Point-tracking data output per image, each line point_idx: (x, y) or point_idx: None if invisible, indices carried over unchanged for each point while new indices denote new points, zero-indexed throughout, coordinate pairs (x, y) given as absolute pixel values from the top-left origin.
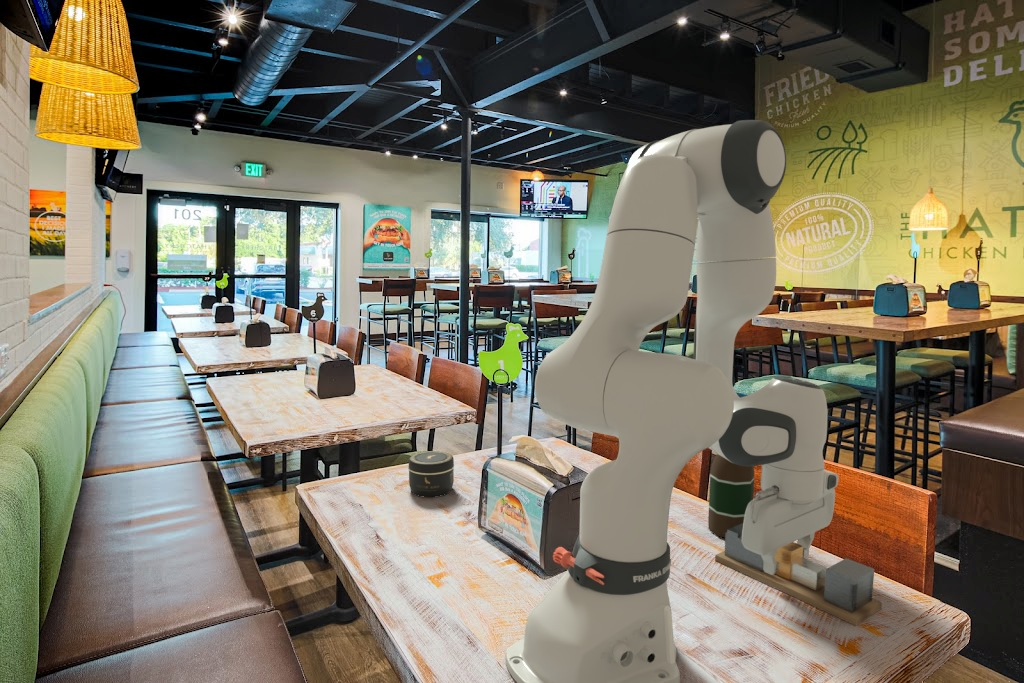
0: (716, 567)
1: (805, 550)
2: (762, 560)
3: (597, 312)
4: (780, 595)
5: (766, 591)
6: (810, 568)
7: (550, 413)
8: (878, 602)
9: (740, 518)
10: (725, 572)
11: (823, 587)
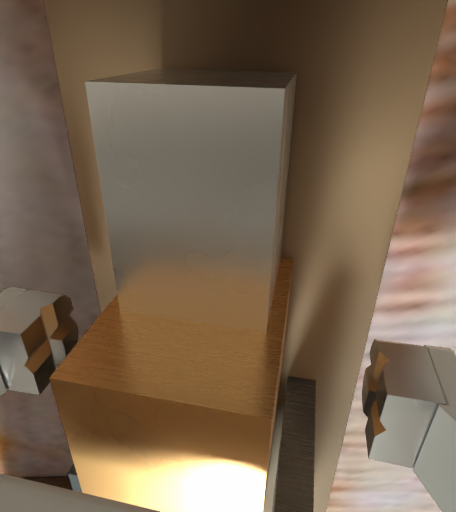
0: (374, 494)
1: (9, 327)
2: (312, 441)
3: None
4: (435, 229)
5: (444, 296)
6: (247, 181)
7: None
8: None
9: None
10: (390, 465)
11: (190, 67)
